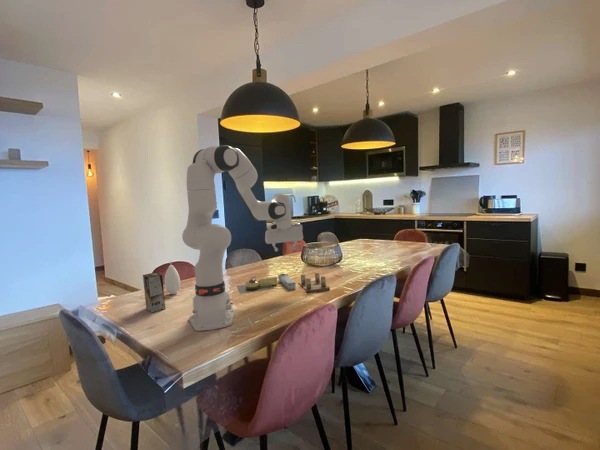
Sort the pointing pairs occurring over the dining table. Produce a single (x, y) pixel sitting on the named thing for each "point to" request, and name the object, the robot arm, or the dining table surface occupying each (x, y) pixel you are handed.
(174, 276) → the white teardrop candle
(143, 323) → the dining table surface
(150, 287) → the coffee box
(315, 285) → the cradle
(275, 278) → the khaki elongated piece
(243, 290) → the dial base
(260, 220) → the robot arm
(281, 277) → the grey rectangular bar
